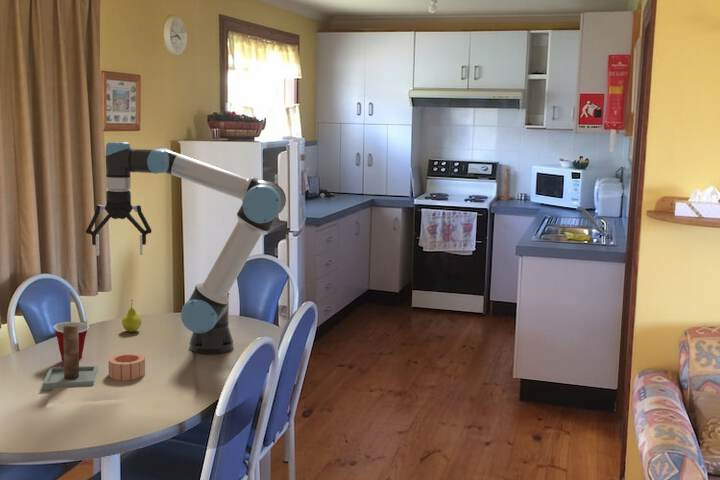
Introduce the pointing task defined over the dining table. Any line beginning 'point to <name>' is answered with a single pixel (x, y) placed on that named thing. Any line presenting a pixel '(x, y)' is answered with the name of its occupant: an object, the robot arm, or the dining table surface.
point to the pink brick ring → (126, 366)
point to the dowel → (71, 351)
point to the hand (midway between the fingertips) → (119, 254)
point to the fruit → (131, 321)
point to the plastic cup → (60, 338)
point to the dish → (57, 380)
